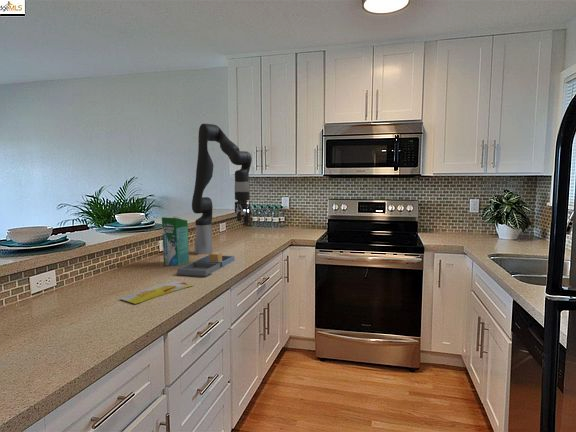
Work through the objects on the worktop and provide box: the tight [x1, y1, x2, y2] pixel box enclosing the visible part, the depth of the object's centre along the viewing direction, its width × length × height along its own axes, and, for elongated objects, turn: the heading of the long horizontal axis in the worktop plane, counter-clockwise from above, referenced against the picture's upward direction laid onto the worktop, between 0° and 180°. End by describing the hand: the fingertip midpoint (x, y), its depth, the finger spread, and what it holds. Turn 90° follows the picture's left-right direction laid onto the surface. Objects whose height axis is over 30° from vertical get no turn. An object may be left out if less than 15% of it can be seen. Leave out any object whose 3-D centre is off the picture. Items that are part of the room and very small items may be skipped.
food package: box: [119, 280, 194, 304], centre depth 146 cm, size 27×2×10 cm
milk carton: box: [161, 216, 190, 267], centre depth 192 cm, size 9×9×25 cm
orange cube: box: [208, 251, 223, 262], centre depth 192 cm, size 5×5×5 cm
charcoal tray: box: [176, 261, 221, 278], centre depth 176 cm, size 15×15×3 cm
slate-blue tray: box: [195, 254, 235, 268], centre depth 193 cm, size 15×15×3 cm
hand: (242, 222), depth 191 cm, fingers open, 8 cm apart
